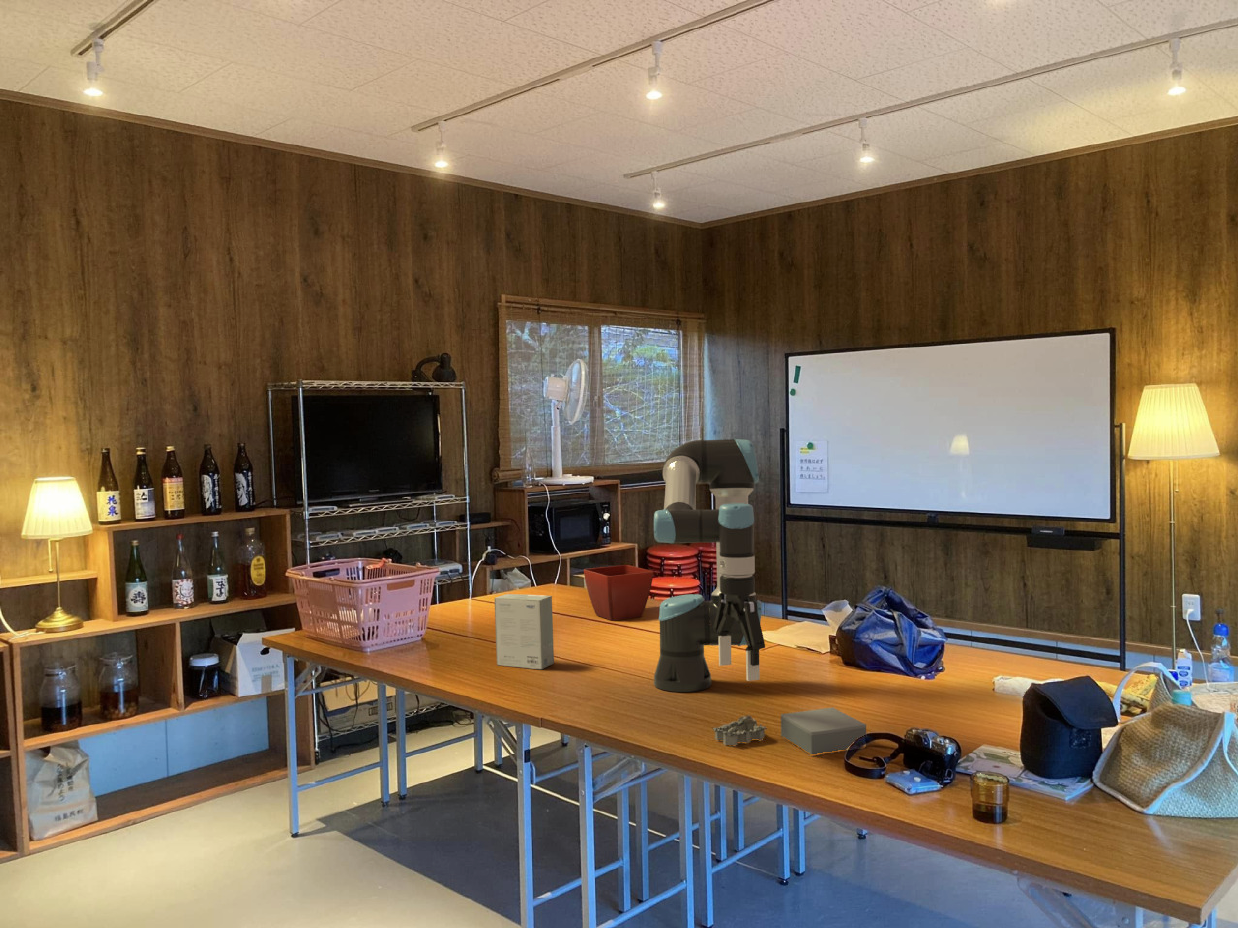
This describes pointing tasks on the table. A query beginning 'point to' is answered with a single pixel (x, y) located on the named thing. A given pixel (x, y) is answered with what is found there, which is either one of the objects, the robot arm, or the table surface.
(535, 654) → the hard drive box
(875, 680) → the table surface
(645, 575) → the plant pot
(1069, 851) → the table surface
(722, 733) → the egg carton
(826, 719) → the plinth
